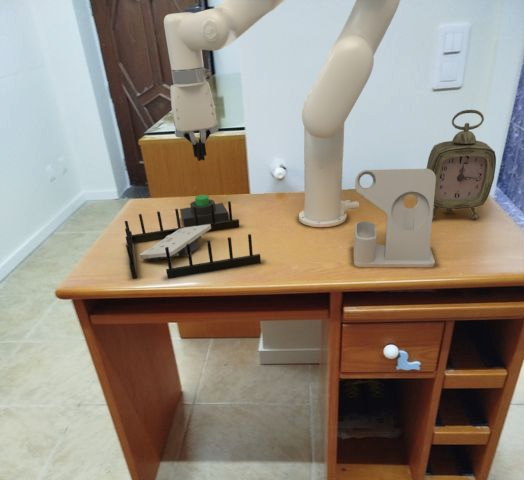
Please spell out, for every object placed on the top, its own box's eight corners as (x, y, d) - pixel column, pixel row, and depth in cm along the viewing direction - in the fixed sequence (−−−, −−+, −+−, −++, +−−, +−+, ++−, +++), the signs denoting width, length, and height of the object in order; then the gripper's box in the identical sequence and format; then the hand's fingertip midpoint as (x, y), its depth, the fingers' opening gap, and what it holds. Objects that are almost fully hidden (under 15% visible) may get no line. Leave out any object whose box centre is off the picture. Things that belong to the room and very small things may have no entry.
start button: (208, 201, 130) (207, 194, 129) (210, 205, 127) (209, 198, 126) (195, 203, 130) (194, 195, 128) (197, 207, 127) (195, 200, 126)
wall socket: (186, 266, 106) (181, 249, 104) (129, 270, 112) (123, 253, 110) (217, 237, 121) (214, 221, 119) (165, 242, 126) (161, 227, 124)
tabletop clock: (424, 222, 121) (439, 114, 107) (419, 210, 129) (433, 107, 114) (484, 222, 120) (508, 112, 105) (475, 209, 127) (497, 104, 112)
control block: (223, 213, 135) (221, 195, 132) (229, 223, 129) (227, 204, 126) (181, 219, 133) (178, 201, 130) (184, 229, 127) (181, 211, 124)
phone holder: (352, 266, 104) (357, 183, 94) (351, 247, 112) (355, 168, 102) (435, 267, 102) (449, 181, 91) (428, 247, 110) (441, 166, 99)
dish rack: (238, 226, 127) (236, 200, 123) (260, 263, 108) (258, 233, 104) (129, 242, 122) (123, 216, 118) (133, 284, 103) (125, 254, 99)
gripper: (217, 72, 116) (226, 151, 127) (155, 79, 113) (170, 160, 124) (223, 75, 110) (232, 158, 121) (158, 83, 107) (173, 167, 118)
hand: (200, 159), depth 122 cm, fingers closed
